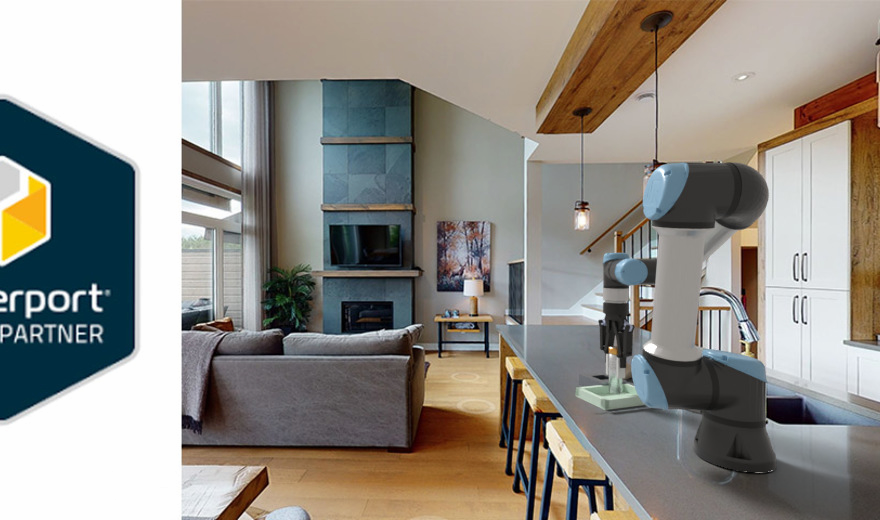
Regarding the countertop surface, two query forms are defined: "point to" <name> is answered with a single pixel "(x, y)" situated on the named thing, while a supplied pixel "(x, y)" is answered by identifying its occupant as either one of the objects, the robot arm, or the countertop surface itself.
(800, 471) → the countertop surface
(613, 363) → the clear bottle
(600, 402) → the tray
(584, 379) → the hitch block
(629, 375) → the stone
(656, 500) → the countertop surface
